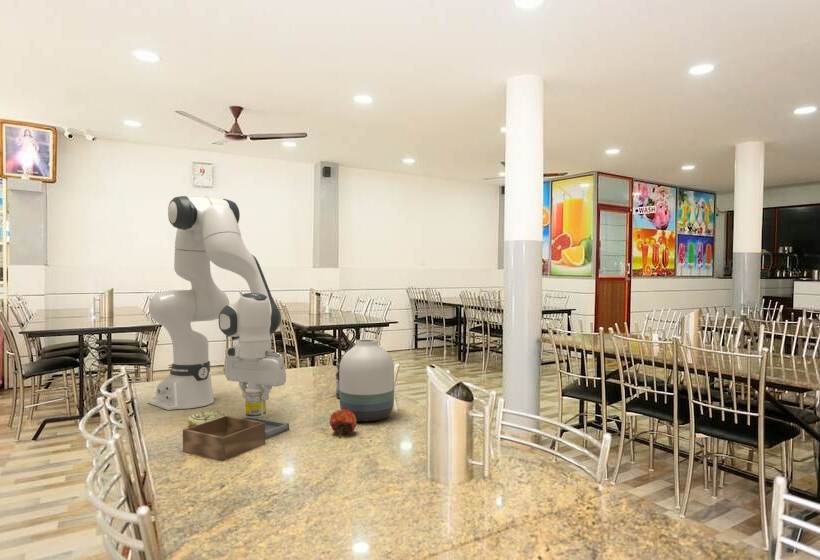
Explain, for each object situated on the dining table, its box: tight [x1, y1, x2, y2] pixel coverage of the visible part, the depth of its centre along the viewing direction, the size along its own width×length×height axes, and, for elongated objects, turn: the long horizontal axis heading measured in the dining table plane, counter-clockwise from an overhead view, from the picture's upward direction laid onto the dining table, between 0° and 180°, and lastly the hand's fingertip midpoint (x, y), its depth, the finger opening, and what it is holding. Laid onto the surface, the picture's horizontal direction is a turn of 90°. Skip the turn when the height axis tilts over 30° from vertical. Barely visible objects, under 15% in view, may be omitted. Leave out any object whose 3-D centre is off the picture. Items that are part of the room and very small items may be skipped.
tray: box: [242, 416, 290, 440], centre depth 148 cm, size 16×10×2 cm, turn 62°
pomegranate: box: [329, 408, 357, 440], centre depth 144 cm, size 7×7×10 cm
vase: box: [339, 338, 395, 422], centre depth 161 cm, size 17×17×24 cm
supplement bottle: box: [244, 382, 267, 419], centre depth 147 cm, size 6×6×10 cm
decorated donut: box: [187, 410, 227, 428], centre depth 152 cm, size 10×11×4 cm
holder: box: [182, 415, 266, 462], centre depth 134 cm, size 14×14×6 cm
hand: (255, 398), depth 147 cm, fingers closed on supplement bottle, 5 cm apart
